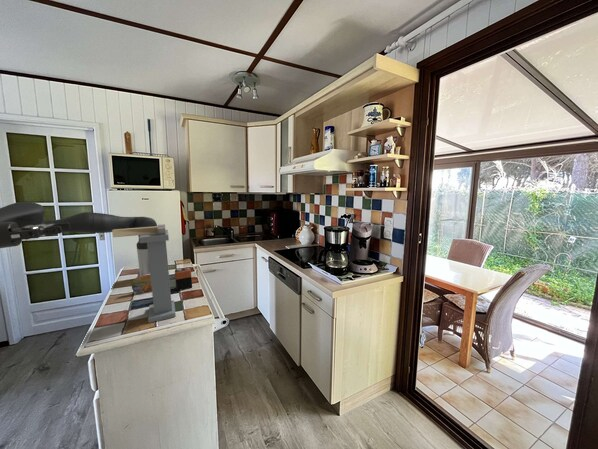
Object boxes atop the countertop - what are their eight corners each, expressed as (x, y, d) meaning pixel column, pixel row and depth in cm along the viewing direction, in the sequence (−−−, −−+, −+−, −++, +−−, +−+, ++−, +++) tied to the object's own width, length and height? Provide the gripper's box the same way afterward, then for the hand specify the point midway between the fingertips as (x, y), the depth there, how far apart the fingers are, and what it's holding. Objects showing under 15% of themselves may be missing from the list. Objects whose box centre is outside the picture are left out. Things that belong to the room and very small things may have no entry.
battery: (175, 287, 123) (174, 268, 121) (190, 284, 127) (189, 265, 125) (177, 291, 119) (175, 270, 118) (192, 287, 123) (191, 268, 121)
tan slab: (115, 234, 93) (115, 227, 92) (165, 230, 100) (164, 224, 100) (111, 239, 84) (110, 232, 84) (165, 234, 92) (165, 228, 91)
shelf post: (149, 308, 103) (141, 231, 97) (174, 303, 107) (167, 229, 102) (148, 323, 92) (139, 237, 87) (175, 316, 96) (168, 235, 91)
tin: (132, 295, 115) (130, 278, 113) (132, 293, 117) (130, 276, 116) (169, 288, 123) (167, 271, 121) (168, 286, 125) (167, 269, 124)
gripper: (10, 243, 81) (74, 235, 89) (-17, 254, 69) (61, 243, 76) (3, 220, 80) (69, 214, 87) (-26, 227, 67) (55, 218, 75)
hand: (65, 227), depth 82 cm, fingers open, 8 cm apart
